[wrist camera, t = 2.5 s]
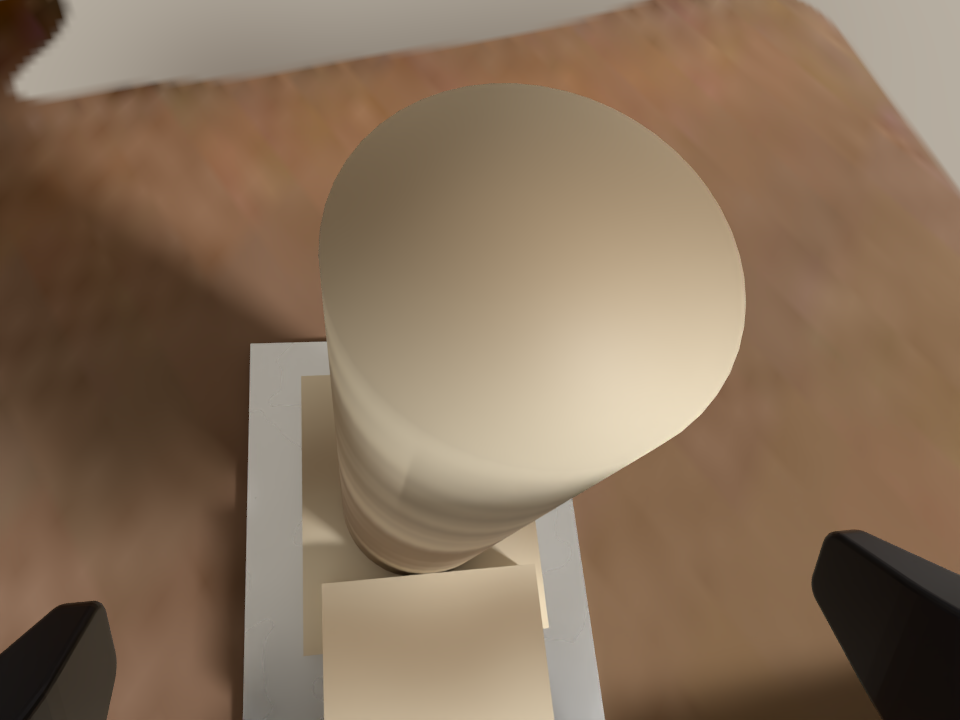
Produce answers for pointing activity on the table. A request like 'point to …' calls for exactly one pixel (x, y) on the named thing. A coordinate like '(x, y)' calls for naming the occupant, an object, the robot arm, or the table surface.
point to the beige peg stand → (491, 380)
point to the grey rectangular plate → (279, 562)
